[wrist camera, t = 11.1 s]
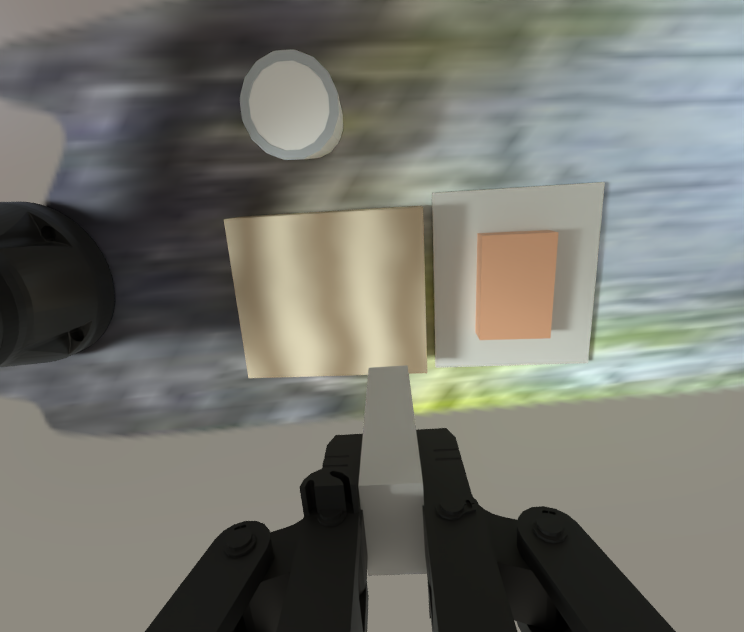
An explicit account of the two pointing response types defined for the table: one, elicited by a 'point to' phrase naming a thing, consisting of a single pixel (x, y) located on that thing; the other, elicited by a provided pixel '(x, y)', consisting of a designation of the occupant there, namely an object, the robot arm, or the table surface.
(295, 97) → the shot glass
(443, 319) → the grey mat
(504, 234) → the terracotta block
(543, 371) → the table surface
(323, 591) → the robot arm
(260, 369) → the board
